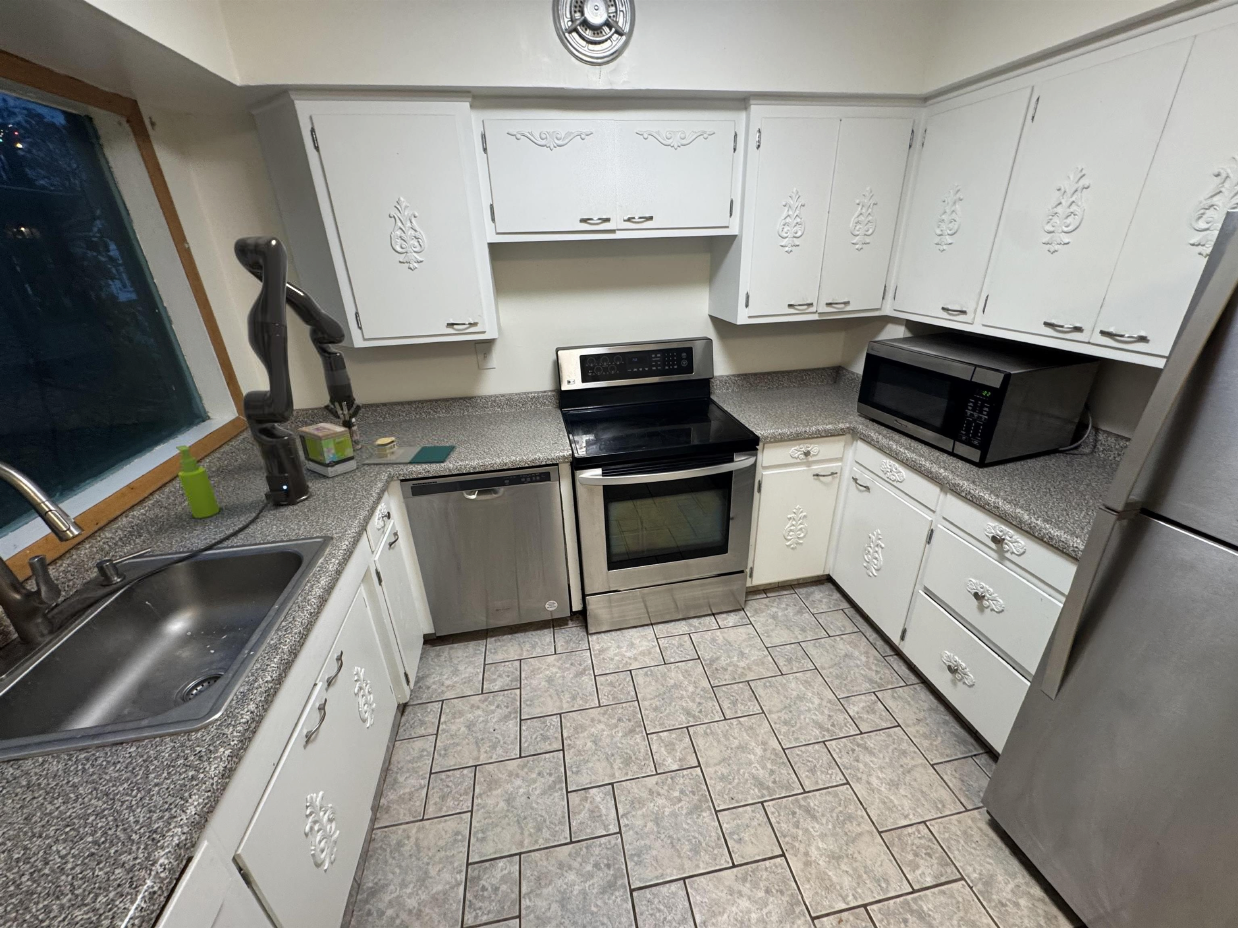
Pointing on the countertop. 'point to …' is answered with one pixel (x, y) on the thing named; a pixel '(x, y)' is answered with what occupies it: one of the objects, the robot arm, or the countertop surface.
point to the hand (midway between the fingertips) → (349, 429)
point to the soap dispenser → (196, 486)
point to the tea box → (327, 449)
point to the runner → (415, 455)
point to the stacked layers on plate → (386, 449)
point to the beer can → (354, 436)
